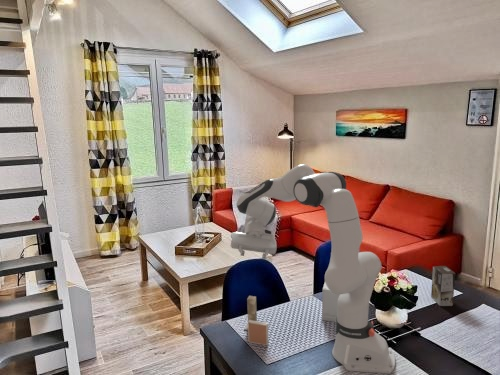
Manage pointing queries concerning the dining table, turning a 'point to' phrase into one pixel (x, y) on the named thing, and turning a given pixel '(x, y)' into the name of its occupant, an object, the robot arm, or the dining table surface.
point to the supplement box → (329, 304)
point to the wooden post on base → (251, 309)
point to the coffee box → (443, 285)
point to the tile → (258, 332)
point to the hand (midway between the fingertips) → (253, 256)
